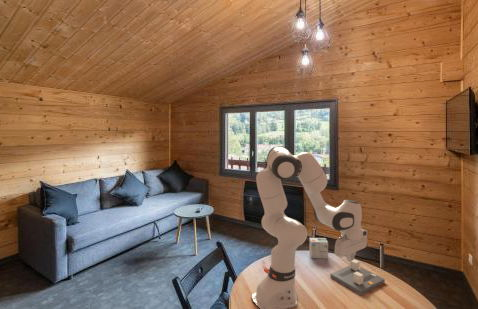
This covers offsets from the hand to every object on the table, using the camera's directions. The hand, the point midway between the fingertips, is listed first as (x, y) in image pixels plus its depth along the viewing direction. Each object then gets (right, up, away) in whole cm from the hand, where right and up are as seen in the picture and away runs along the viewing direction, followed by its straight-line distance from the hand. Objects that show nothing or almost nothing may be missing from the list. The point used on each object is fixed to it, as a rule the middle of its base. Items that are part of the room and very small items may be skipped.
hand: (350, 260), depth 124 cm
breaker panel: (+8, -15, +11) cm, 20 cm away
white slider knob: (+10, -12, +18) cm, 23 cm away
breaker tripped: (+6, -13, +5) cm, 15 cm away
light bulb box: (-4, -13, +37) cm, 40 cm away
